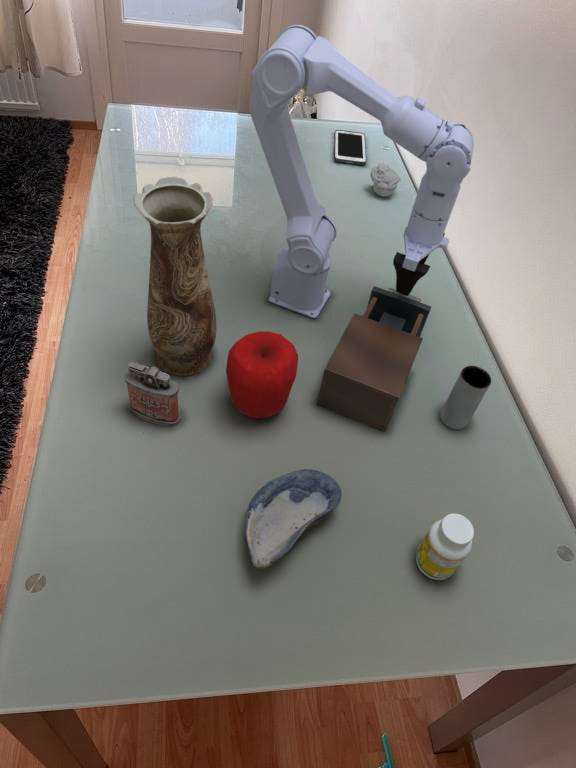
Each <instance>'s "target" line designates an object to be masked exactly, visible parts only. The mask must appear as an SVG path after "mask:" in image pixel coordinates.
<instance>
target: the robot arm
mask: <svg viewBox="0 0 576 768" xmlns="http://www.w3.org/2000/svg"><path fill="white" fill-rule="evenodd" d="M251 75H252V78H253V80H252V85H251V93H250V98H249V104H248V110H249V114H250V115H249V116H250V117H251V120H252V123H253V125H254V130H255V132H256V134H257V137H258V140H259V143H260V145H261V149H262V152H263V154H264V157H265V160H266V162H267V165H268V169H269V171H270V173H271V176H272V177H271V178H272V179H273V182H274V185H275V188H276V191H277V194H278V196H279V199H280V201H281V206H282V208H283V210H284V214H285V216H286V232H285V233H286V234H285V236H286V237H285V239H286V240H285V241H286V242H287V246H288V248H283V249H282V250H281V251H280V252H279V254H278V255H277V257H276V260H275V262H274V266H273V269H272V276H271V286H270V296H268V297H269V298H268V302H269V303H271V304H273V305H277V306H280V307H282V308H285V309H288V310H290V311H293V312H295V313H298V314H301V315H304V316H306V317H309V318H312V319H317V318H318V316H319V315H320V313H321V312H322V309H323V308H324V306H325V304H326V303H327V301H328V300H329V298H330V297H331V295H332V292H331V290H328V289H326V288H327V283H328V277H329V273H330V269H331V262H332V259H331V256H330V250H331V248H332V244H333V242H334V241H335V239H336V237H337V226H336V224H335V222H334V221H333V220H332V219H331V218H330V217H329V216H328V214H327V212H326V207H325V206H323V205H322V204H319V203H318V202H317V199H316V194H315V192H314V189H313V185H312V183H311V179H310V175H309V173H308V169H307V167H306V162H305V159H304V157H303V154H302V149H301V146H300V144H299V140H298V137H297V134H296V131H295V128H294V124H293V121H292V119H291V115H290V112H289V105H290V103H291V102H292V100H293V98H294V97H296V96H297V95H298V94H299V93H300V92H301V90H302V88H303V87H306V89H305V96H307V97H310V96H314V95H318V94H322V93H327V92H332V93H334V94H335V95H336V96H338V97H340V98H341V99H344V100H345V101H347V102H348V103H350V104H352V105H353V106H355V107H356V108H358V109H360V110H361V111H363V112H365V113H367V114H369V116H371V117H373V118H374V119H377V120H378V121H380V124H381V127H382V132H383V136H385V137H387V139H389V140H391V141H392V142H394V143H395V144H397V145H398V146H400V147H401V148H403V149H404V150H406V151H407V152H408V153H410V154H412V156H415V157H416V158H417V159H419V160H420V161H422V162H424V163H426V164H425V165H426V170H425V173H424V174H423V176H422V177H421V180H420V183H419V187H418V190H417V192H416V197H415V199H414V203H413V207H412V210H411V213H410V215H409V219H408V223H407V226H405V228H404V232H403V241H404V251H405V253H401V252H398V251H396V253H395V255H394V257H393V259H392V260H393V261H392V262H393V263H392V265H393V267H394V270H395V276H396V277H395V281H396V282H395V290H396V292H397V293H400V294H402V295H405V296H408V295H411V293H412V292H413V290H414V288H415V286H416V284H417V283H418V281H419V280H420V279H422V278H423V277H425V276H426V275H427V273H428V272H429V270H430V268H431V265H429V264H426V261H427V260H428V259H429V256H430V255H431V253H433V252H434V251H436V250H437V249H439V248H441V249H447V248H448V245H449V243H450V239H449V238H448V237H445V235H446V233H445V231H446V229H447V226H448V223H449V220H450V218H451V215H452V212H453V210H454V207H455V204H456V201H457V198H458V196H459V194H460V190H461V184H462V182H463V181H464V178H466V177H467V175H468V174H469V173H470V171H471V164H472V158H473V152H474V146H475V145H474V144H475V143H474V136H473V134H472V132H471V130H470V129H469V128H468V127H467V126H466V125H465V123H463V122H458V121H457V122H456V121H451V120H450V119H447V121H446V120H445V119H443V118H442V117H440V116H439V115H438V114H437V113H434V112H433V111H432V110H430V109H429V108H427V106H426V103H427V101H426V100H425V99H423V98H422V97H420V96H418V97H417V98H416V99H415V98H414V97H412V96H411V95H402V96H401V95H400V96H394V95H392V94H391V93H390V92H389V91H388V90H387V89H385V88H384V87H382V86H381V85H380V84H379V83H378V82H376V81H375V80H374V79H373V78H371V76H369V75H368V74H367V73H365V72H364V71H362V70H361V69H360V68H359V67H357V65H355V64H354V63H352V61H350V60H349V59H347V58H346V57H345V56H344V55H342V54H341V53H340V52H339V51H338V50H337V49H336V48H335V47H334V46H333V44H331V42H330V41H328V39H326V38H325V37H322V36H320V35H316V34H315V33H314V31H313V30H312V29H311V28H309V27H308V26H306V25H302V24H293V25H290V26H287V27H286V28H284V29H283V30H282V32H281V33H280V34H279V36H278V37H277V39H276V40H275V42H273V44H272V45H271V47H270V48H268V49H267V50H266V51H265V52H264V53H263V54H262V56H261V57H260V58H259V60H258V62H257V63H256V65H255V67H254V68H253V70H252V71H251Z"/></svg>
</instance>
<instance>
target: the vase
mask: <svg viewBox="0 0 576 768" xmlns="http://www.w3.org/2000/svg"><path fill="white" fill-rule="evenodd" d="M141 191H142V192H137V193H135V194H134V197H133V205H134V207H135V208H136V209H137V211H138V212H139V214H141V216H142V217H143V218H144V219H145V220H146V221H147V222H148V223H149V229H150V253H149V257H150V258H149V277H148V290H147V291H148V292H147V305H146V306H147V307H146V322H147V331H148V335H149V339H150V342H151V345H152V348H153V350H154V351H155V353H156V354H157V355H156V357H157V362H158V365H159V366H160V367H161V368H162V369H163V370H164V371H166V373H169V374H172V375H175V376H181V377H184V376H185V377H186V376H187V377H188V376H191V375H192V376H193V375H196V374H198V373H200V372H202V371H203V370H205V369H206V368H207V367H208V366H209V365H210V363H211V361H212V358H213V352H212V349H213V348H214V345H215V342H216V338H217V314H216V308H215V302H214V298H213V297H214V296H213V292H212V288H211V282H210V278H209V277H210V276H209V273H208V268H207V261H206V257H205V252H204V245H203V240H202V233H201V232H202V231H201V230H202V229H201V225H202V222H203V221H204V219H205V218H206V216H207V215H208V214H209V212H210V210H211V208H212V206H213V196H212V195H211V193H210V192H209V191H204V190H203V187H202V185H201V184H200V183H199V182H195V183H192V184H189V182H187V180H186V179H185V178H182V177H179V176H164V177H160V178H159V179H158V180H157V182H156V183H155V184H152V183H145V184H144V186H143V187H142V190H141Z"/></svg>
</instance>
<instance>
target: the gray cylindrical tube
mask: <svg viewBox="0 0 576 768" xmlns="http://www.w3.org/2000/svg"><path fill="white" fill-rule="evenodd" d="M491 384H492V378H491V375H490V373H489V372H488V371H487V370H485V369H484V368H482V367H480V366H477V365H467V366H465V367H463V368H462V369H461V371H460V373H459V375H458V377H457V379H456V381H455V383H454V384H453V387H452V388H451V391H450V393H449V394H448V397H447V399H446V400H445V402H444V405H443V407H442V409H441V411H440V414H439V416H440V419H441V422H442V423H443V424H444V425H445V426H447V428H449V429H453V430H463V429H465V428H466V427H467V426H468V424H469V422H470V421H471V419H472V418H473V416H474V414H475V412H476V411H477V409H478V407H479V405H480V404H481V402H482V400H483V399H484V396H485V395H486V393H487V392H488V389H489V388H490V386H491Z"/></svg>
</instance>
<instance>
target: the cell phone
mask: <svg viewBox="0 0 576 768" xmlns="http://www.w3.org/2000/svg"><path fill="white" fill-rule="evenodd" d="M333 150H334V154H333V156H334V158H333V159H334V162H336V163H339V164H341V163H342V164H352V165H355V166H357V165H358V166H366V164H367V147H366V134H365V133H364V132H359V131H353V130H344V129H336V130H334V149H333Z"/></svg>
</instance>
